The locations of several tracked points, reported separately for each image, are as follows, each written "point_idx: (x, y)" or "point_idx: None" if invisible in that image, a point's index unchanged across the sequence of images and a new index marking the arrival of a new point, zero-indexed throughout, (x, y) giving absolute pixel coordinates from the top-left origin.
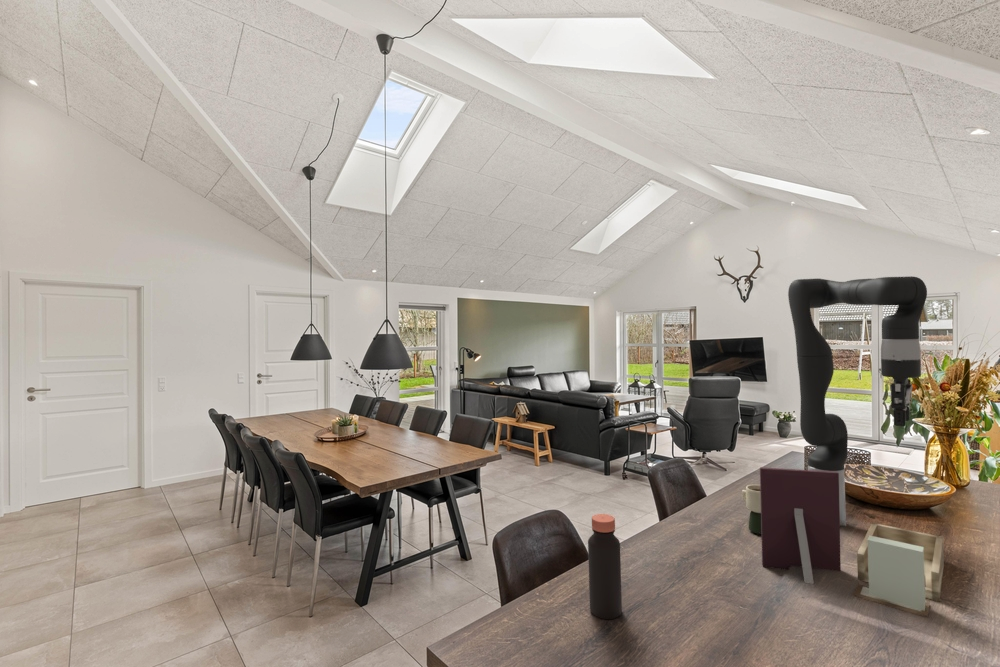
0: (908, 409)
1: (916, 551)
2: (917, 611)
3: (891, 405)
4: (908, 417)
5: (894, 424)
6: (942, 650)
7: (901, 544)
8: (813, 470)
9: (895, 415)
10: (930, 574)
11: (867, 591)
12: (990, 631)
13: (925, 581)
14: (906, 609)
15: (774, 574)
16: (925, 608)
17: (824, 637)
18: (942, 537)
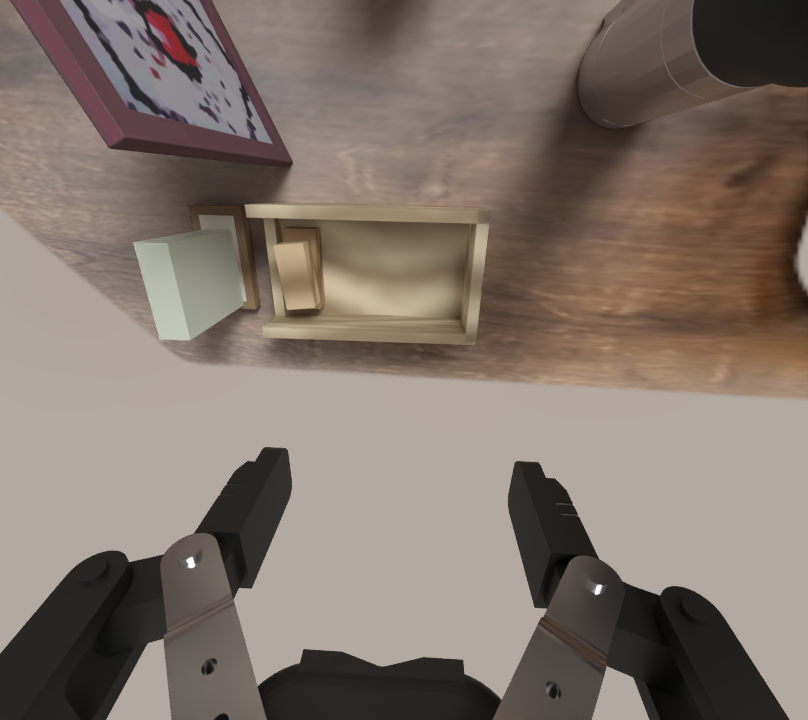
0: (528, 578)
1: (158, 329)
2: None
3: (81, 575)
4: (511, 520)
5: (266, 449)
6: (153, 319)
7: (167, 305)
8: (50, 23)
9: (213, 507)
10: (386, 308)
11: (218, 224)
12: (259, 366)
13: (322, 305)
14: None
15: None
16: None
17: (33, 181)
18: (472, 344)
